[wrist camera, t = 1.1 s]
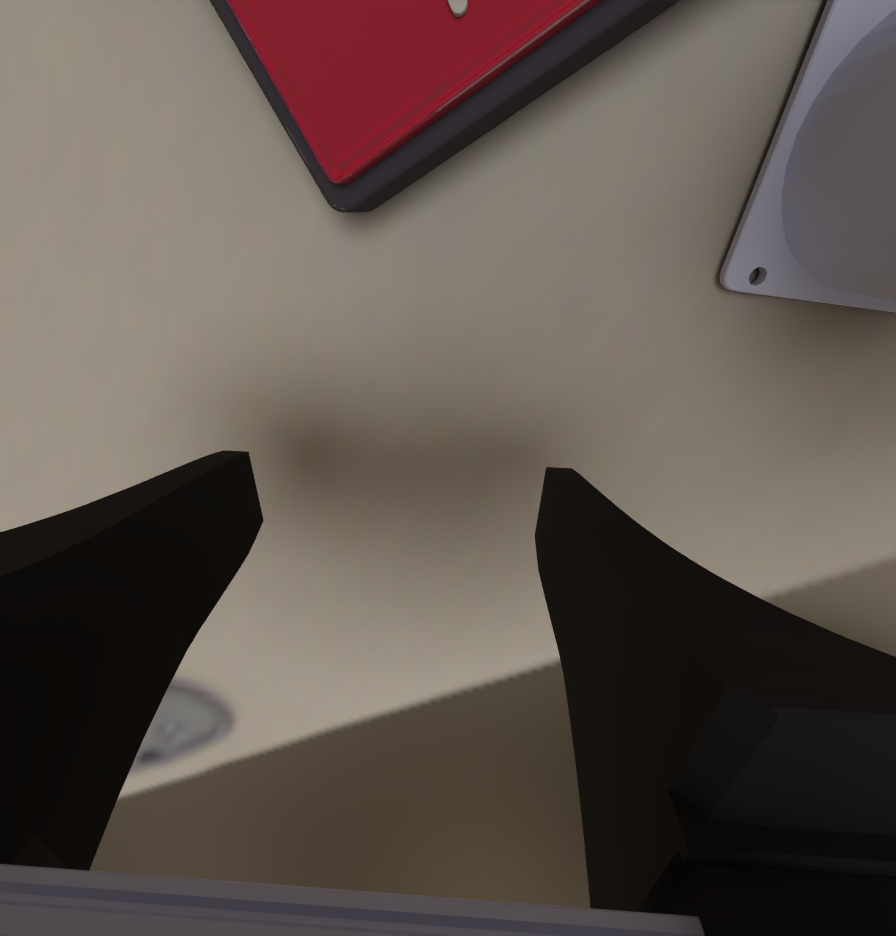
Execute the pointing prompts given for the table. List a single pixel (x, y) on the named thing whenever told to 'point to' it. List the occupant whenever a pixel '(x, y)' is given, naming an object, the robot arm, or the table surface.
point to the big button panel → (411, 75)
